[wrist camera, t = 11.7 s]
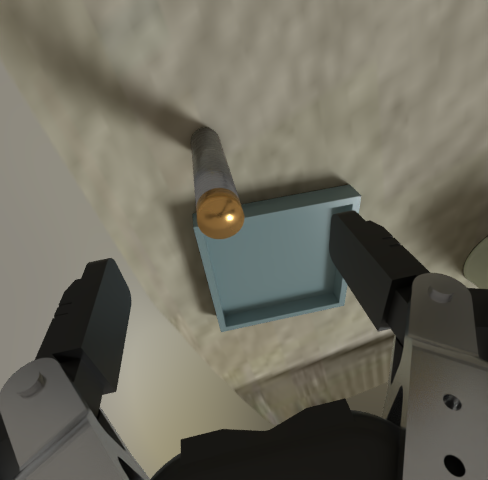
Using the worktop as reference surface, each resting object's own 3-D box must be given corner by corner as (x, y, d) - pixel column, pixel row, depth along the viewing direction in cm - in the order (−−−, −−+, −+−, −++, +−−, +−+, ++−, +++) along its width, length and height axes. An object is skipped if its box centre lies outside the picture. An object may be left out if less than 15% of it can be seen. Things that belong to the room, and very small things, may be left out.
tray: (192, 213, 23) (193, 227, 22) (349, 184, 24) (361, 195, 23) (219, 316, 31) (221, 332, 30) (336, 291, 32) (344, 305, 31)
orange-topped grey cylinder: (187, 130, 19) (192, 203, 12) (217, 125, 20) (241, 195, 12) (194, 158, 21) (202, 243, 13) (222, 153, 21) (246, 234, 13)
